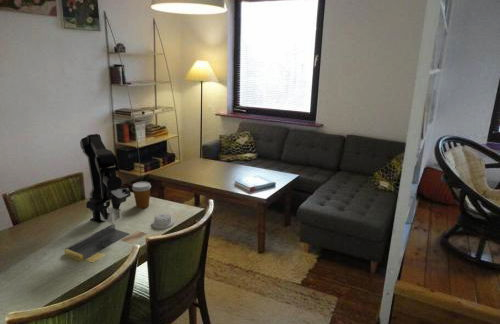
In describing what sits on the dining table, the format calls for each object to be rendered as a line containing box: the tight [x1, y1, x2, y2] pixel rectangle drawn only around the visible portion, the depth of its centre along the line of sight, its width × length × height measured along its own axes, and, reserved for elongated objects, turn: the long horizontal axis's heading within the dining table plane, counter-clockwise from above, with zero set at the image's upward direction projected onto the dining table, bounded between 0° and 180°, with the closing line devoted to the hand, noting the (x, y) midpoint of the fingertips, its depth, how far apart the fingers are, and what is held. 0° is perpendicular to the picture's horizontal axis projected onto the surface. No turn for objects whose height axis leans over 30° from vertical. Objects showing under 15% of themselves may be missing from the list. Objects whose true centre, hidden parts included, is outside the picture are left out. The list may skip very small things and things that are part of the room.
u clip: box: [100, 205, 123, 225], centre depth 150 cm, size 7×5×4 cm
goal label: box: [85, 252, 106, 264], centre depth 137 cm, size 4×6×1 cm, turn 153°
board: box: [120, 230, 148, 244], centre depth 153 cm, size 6×10×1 cm, turn 153°
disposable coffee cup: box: [131, 181, 152, 209], centre depth 183 cm, size 10×10×12 cm
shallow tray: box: [63, 223, 130, 263], centre depth 147 cm, size 10×25×2 cm, turn 153°
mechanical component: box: [151, 212, 175, 230], centre depth 165 cm, size 10×4×10 cm
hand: (111, 217), depth 150 cm, fingers closed on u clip, 5 cm apart
